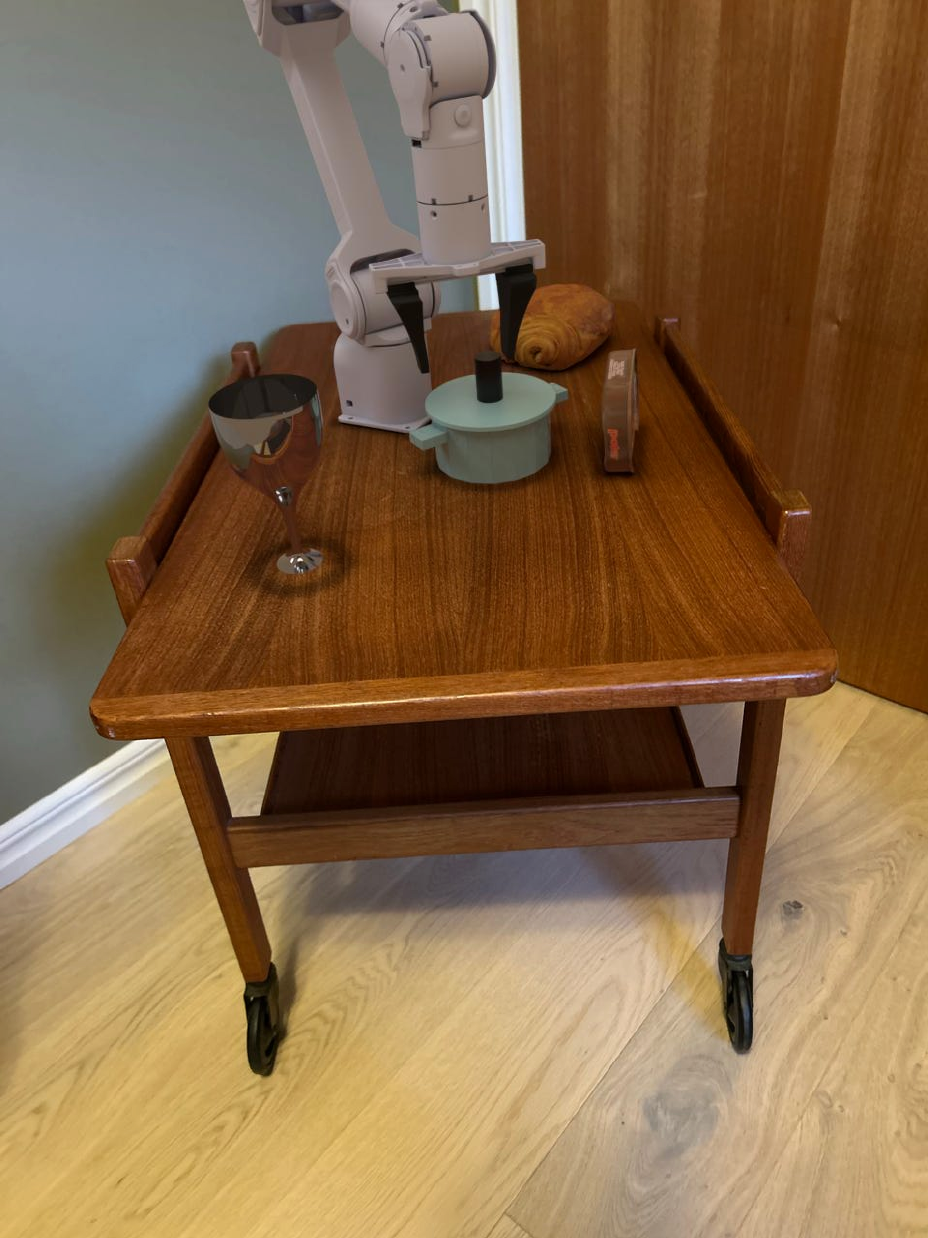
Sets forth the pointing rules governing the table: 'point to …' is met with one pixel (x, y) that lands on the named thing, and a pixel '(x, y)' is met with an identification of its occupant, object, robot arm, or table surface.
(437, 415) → the lid
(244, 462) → the wine glass
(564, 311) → the croissant
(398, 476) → the table surface
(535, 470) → the pot
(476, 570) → the table surface
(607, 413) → the tin
